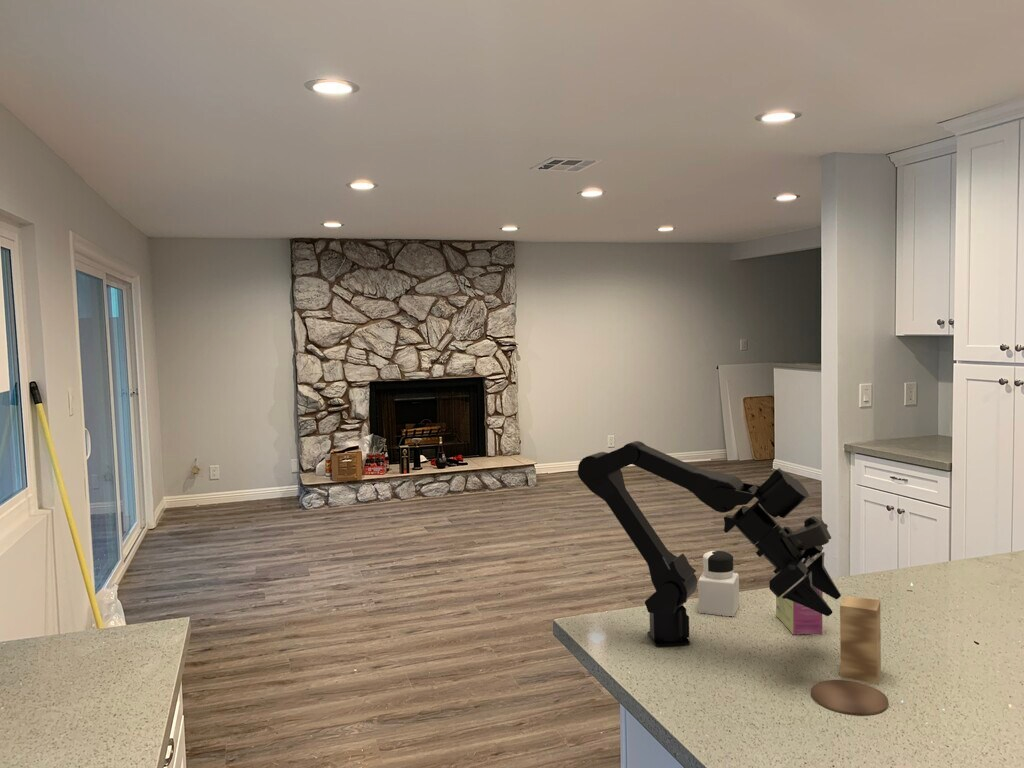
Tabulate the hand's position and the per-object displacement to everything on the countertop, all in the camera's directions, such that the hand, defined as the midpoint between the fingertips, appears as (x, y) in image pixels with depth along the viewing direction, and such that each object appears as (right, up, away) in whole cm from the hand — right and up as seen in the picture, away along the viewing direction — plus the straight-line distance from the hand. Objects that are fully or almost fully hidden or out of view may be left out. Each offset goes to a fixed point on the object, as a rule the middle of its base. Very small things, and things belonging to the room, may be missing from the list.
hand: (834, 605), depth 129 cm
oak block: (+4, -11, -1) cm, 12 cm away
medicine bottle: (-11, -10, +31) cm, 34 cm away
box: (+2, -10, +21) cm, 23 cm away
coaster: (-2, -11, -10) cm, 15 cm away
